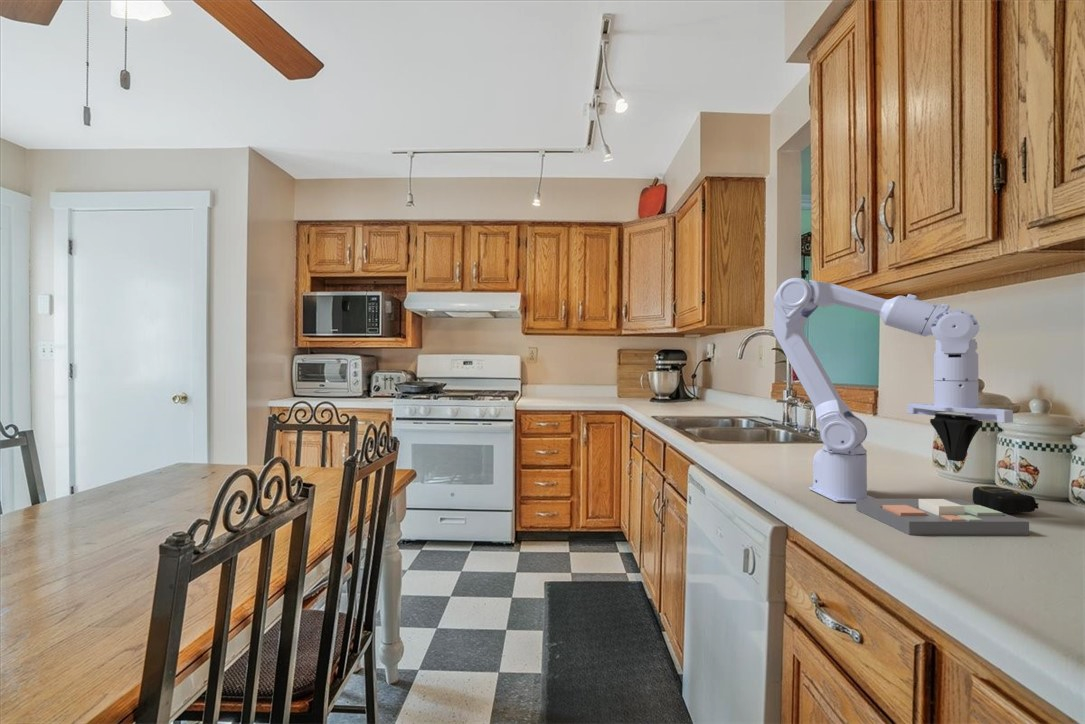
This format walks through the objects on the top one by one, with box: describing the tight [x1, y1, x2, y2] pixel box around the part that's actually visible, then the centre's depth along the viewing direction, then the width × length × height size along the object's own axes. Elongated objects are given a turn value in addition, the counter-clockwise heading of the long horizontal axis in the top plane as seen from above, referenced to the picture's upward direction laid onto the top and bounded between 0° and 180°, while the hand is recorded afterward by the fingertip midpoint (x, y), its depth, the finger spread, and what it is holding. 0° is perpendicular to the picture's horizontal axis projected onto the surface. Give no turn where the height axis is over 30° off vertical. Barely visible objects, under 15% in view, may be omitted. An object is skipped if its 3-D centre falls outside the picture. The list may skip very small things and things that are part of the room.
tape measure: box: [972, 485, 1040, 515], centre depth 82 cm, size 7×7×4 cm
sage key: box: [962, 505, 1003, 516], centre depth 75 cm, size 4×4×2 cm
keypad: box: [855, 498, 1030, 536], centre depth 76 cm, size 12×18×2 cm, turn 89°
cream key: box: [918, 498, 965, 516], centre depth 75 cm, size 4×4×2 cm
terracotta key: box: [882, 505, 926, 516], centre depth 75 cm, size 4×4×2 cm
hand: (956, 460), depth 79 cm, fingers closed
